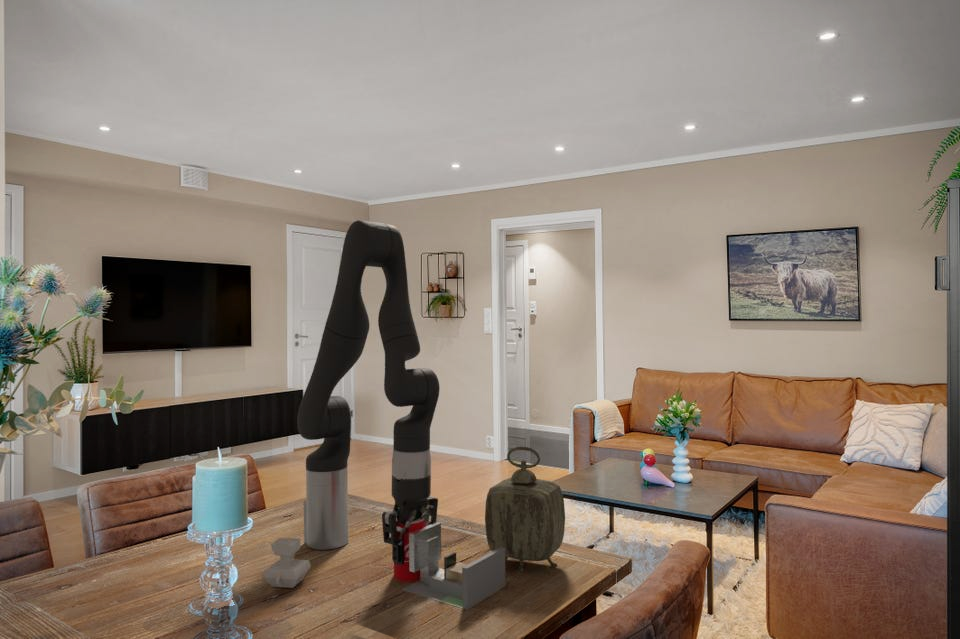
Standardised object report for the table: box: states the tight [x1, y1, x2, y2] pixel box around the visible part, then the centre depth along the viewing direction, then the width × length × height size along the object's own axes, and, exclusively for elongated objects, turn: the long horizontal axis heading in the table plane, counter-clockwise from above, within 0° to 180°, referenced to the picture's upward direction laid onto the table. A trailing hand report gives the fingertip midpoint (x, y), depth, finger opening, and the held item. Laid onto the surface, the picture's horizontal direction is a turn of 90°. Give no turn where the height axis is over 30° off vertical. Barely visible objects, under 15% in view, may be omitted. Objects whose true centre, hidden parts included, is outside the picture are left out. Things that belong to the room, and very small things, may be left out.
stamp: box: [263, 537, 312, 589], centre depth 126 cm, size 9×7×8 cm
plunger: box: [409, 521, 457, 585], centre depth 123 cm, size 7×8×10 cm
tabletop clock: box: [484, 446, 566, 572], centre depth 130 cm, size 14×9×25 cm, turn 65°
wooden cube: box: [446, 561, 468, 584], centre depth 119 cm, size 4×4×4 cm
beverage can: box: [393, 518, 427, 583], centre depth 126 cm, size 6×6×12 cm
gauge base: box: [401, 547, 506, 611], centre depth 120 cm, size 15×12×8 cm
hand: (410, 557), depth 126 cm, fingers closed on beverage can, 6 cm apart
